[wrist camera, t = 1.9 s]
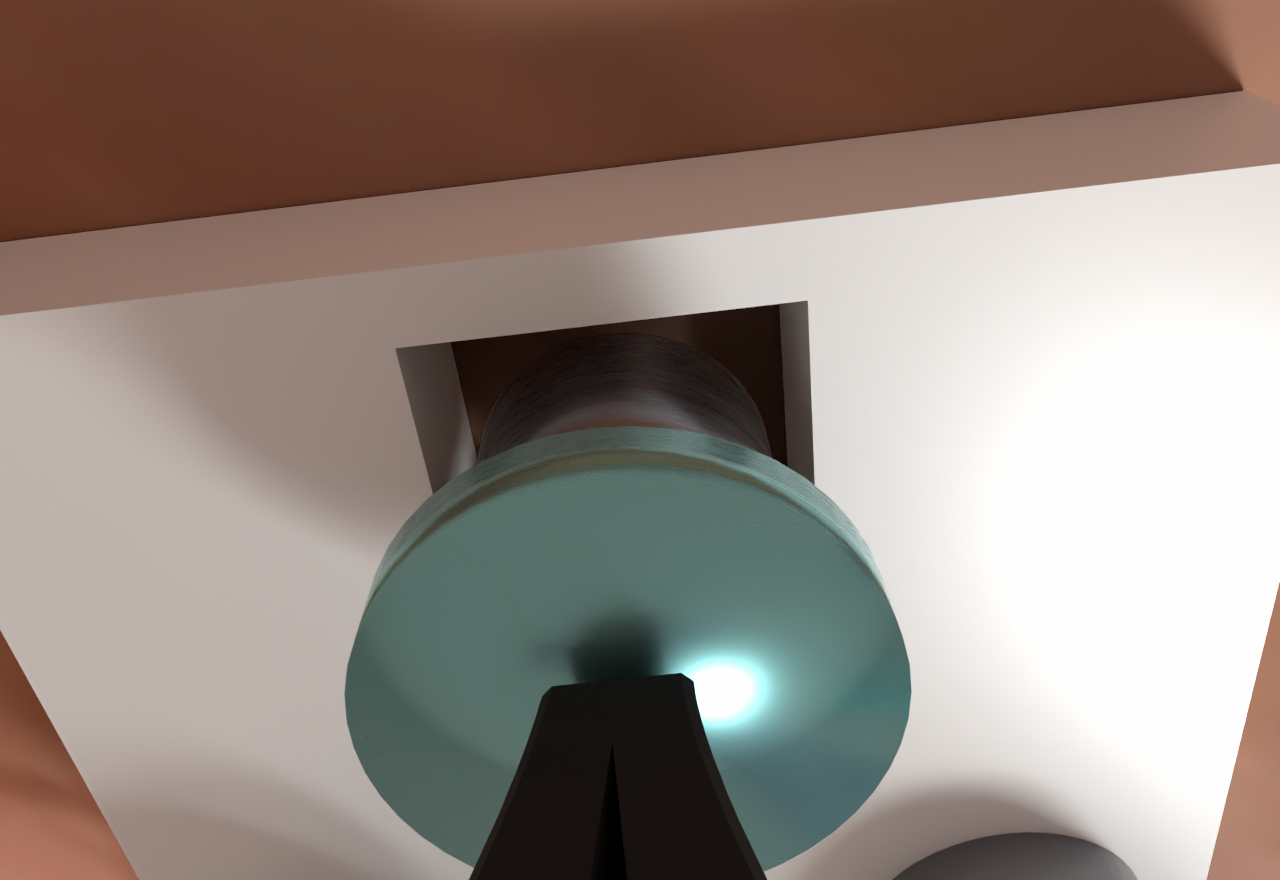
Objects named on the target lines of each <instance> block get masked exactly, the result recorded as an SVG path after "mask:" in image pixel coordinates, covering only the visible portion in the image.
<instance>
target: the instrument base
mask: <svg viewBox="0 0 1280 880" xmlns="http://www.w3.org/2000/svg"><path fill="white" fill-rule="evenodd" d="M774 304H779V311H780V330H781V349H782V368H783V387H784V406H785V425H786V444H787V463H788V468H790V469H792V470H793V471H795V472H797V473H798V474H800V475H802V476H803V477H805V478H806V479H807V480H809V481H810V482H811V483H812V484H814V485H815V486H816V487H817V488H819V489H820V490H821V491H822V492H823V493H825V494H826V495H827V496H828V497H830V498H831V499H832V500H833V501H834V502H835V504H836V505H837V506H838V507H839V508H840V509H841V510H842V511H843V512H844V513H845V514H846V516H847V517H848V518H849V519H850V520H851V521H852V522H853V524H854V525H855V527H856V528H857V530H858V531H859V533H860V534H861V536H862V537H863V539H864V540H865V542H866V543H867V545H868V547H869V549H870V551H871V553H872V555H873V558H874V560H875V562H876V564H877V566H878V569H879V571H880V574H881V576H882V579H883V582H884V585H885V588H886V591H887V593H888V596H889V599H890V602H891V605H892V608H893V610H894V613H895V616H896V619H897V622H898V625H899V627H900V630H901V633H902V636H903V640H904V644H905V647H906V651H907V655H908V659H909V663H910V676H911V690H912V692H911V701H910V710H909V719H908V722H907V726H906V729H905V732H904V736H903V739H902V743H901V745H900V748H899V750H898V752H897V754H896V756H895V758H894V760H893V762H892V764H891V767H890V769H889V770H888V772H887V773H886V775H885V776H884V778H883V779H882V781H881V782H880V784H879V785H878V787H877V788H876V790H875V791H874V792H873V794H872V795H871V796H870V797H869V798H868V799H867V800H866V801H865V803H864V804H863V805H862V806H861V807H860V808H859V809H858V810H857V812H856V813H855V814H854V815H852V816H851V817H850V818H849V819H848V820H847V821H846V822H844V823H843V824H842V825H841V826H840V827H839V828H838V829H836V830H835V831H834V832H833V833H832V834H830V835H829V836H827V837H826V838H824V839H823V840H821V841H820V842H819V843H817V844H816V845H814V846H813V847H811V848H810V849H808V850H807V851H805V852H803V853H801V854H799V855H798V856H796V857H794V858H792V859H790V860H788V861H787V862H785V863H783V864H781V865H779V866H776V867H774V868H772V869H769V870H767V871H764V874H765V876H766V878H767V880H1206V879H1207V875H1208V871H1209V867H1210V863H1211V858H1212V854H1213V850H1214V846H1215V842H1216V838H1217V834H1218V830H1219V826H1220V822H1221V818H1222V814H1223V810H1224V805H1225V801H1226V797H1227V793H1228V789H1229V785H1230V781H1231V777H1232V773H1233V769H1234V765H1235V761H1236V756H1237V752H1238V748H1239V744H1240V740H1241V736H1242V732H1243V728H1244V724H1245V720H1246V716H1247V712H1248V708H1249V703H1250V699H1251V695H1252V691H1253V687H1254V683H1255V679H1256V675H1257V671H1258V667H1259V663H1260V659H1261V655H1262V650H1263V646H1264V642H1265V638H1266V634H1267V630H1268V626H1269V622H1270V618H1271V614H1272V610H1273V606H1274V602H1275V597H1276V593H1277V589H1278V585H1279V581H1280V105H1279V104H1276V103H1274V102H1272V101H1269V100H1267V99H1265V98H1263V97H1260V96H1258V95H1256V94H1253V93H1251V92H1249V91H1239V92H1230V93H1222V94H1214V95H1206V96H1198V97H1189V98H1181V99H1173V100H1165V101H1157V102H1148V103H1140V104H1132V105H1124V106H1116V107H1107V108H1099V109H1091V110H1083V111H1074V112H1066V113H1058V114H1050V115H1042V116H1033V117H1025V118H1017V119H1009V120H1001V121H992V122H984V123H976V124H968V125H960V126H951V127H943V128H935V129H927V130H919V131H910V132H902V133H894V134H886V135H877V136H869V137H861V138H853V139H845V140H836V141H828V142H820V143H812V144H804V145H795V146H787V147H779V148H771V149H763V150H754V151H746V152H738V153H730V154H721V155H713V156H705V157H697V158H689V159H680V160H672V161H664V162H656V163H648V164H639V165H631V166H623V167H615V168H607V169H598V170H590V171H582V172H574V173H566V174H557V175H549V176H541V177H533V178H524V179H516V180H508V181H500V182H492V183H483V184H475V185H467V186H459V187H451V188H442V189H434V190H426V191H418V192H410V193H401V194H393V195H385V196H377V197H368V198H360V199H352V200H344V201H336V202H327V203H319V204H311V205H303V206H295V207H286V208H278V209H270V210H262V211H254V212H245V213H237V214H229V215H221V216H213V217H204V218H196V219H188V220H180V221H171V222H163V223H155V224H147V225H139V226H130V227H122V228H114V229H106V230H98V231H89V232H81V233H73V234H65V235H57V236H48V237H40V238H32V239H24V240H15V241H7V242H0V631H1V632H2V634H3V636H4V638H5V640H6V641H7V643H8V645H9V647H10V649H11V650H12V652H13V654H14V656H15V658H16V659H17V661H18V663H19V665H20V667H21V668H22V670H23V672H24V674H25V676H26V677H27V679H28V681H29V683H30V684H31V686H32V688H33V690H34V692H35V693H36V695H37V697H38V699H39V701H40V702H41V704H42V706H43V708H44V710H45V711H46V713H47V715H48V717H49V719H50V720H51V722H52V724H53V726H54V728H55V729H56V731H57V733H58V735H59V737H60V738H61V740H62V742H63V744H64V746H65V747H66V749H67V751H68V753H69V755H70V756H71V758H72V760H73V762H74V764H75V765H76V767H77V769H78V771H79V773H80V774H81V776H82V778H83V780H84V782H85V783H86V785H87V787H88V789H89V791H90V792H91V794H92V796H93V798H94V800H95V801H96V803H97V805H98V807H99V809H100V810H101V812H102V814H103V816H104V818H105V819H106V821H107V823H108V825H109V827H110V828H111V830H112V832H113V834H114V836H115V837H116V839H117V841H118V843H119V845H120V846H121V848H122V850H123V852H124V854H125V855H126V857H127V859H128V861H129V863H130V864H131V866H132V868H133V870H134V872H135V873H136V875H137V877H138V879H139V880H469V878H470V876H471V874H472V872H473V870H474V868H473V867H471V866H469V865H467V864H466V863H464V862H462V861H460V860H458V859H456V858H454V857H452V856H450V855H449V854H447V853H445V852H444V851H442V850H441V849H439V848H438V847H436V846H435V845H433V844H432V843H430V842H429V841H427V840H426V839H424V838H423V837H422V836H420V835H419V834H418V833H417V832H416V831H414V830H413V829H412V828H411V827H410V826H409V825H408V824H406V823H405V822H404V821H403V820H402V819H401V818H400V817H399V816H398V815H397V814H396V813H395V812H394V811H393V810H392V809H391V807H390V806H389V805H388V804H387V803H386V802H385V801H384V799H383V798H382V797H381V796H380V795H379V793H378V792H377V790H376V789H375V787H374V786H373V784H372V783H371V781H370V780H369V778H368V776H367V775H366V773H365V772H364V769H363V767H362V765H361V763H360V761H359V758H358V756H357V754H356V752H355V750H354V747H353V744H352V740H351V736H350V732H349V728H348V725H347V720H346V708H345V696H344V692H345V682H346V672H347V665H348V661H349V658H350V654H351V651H352V647H353V644H354V640H355V637H356V634H357V631H358V627H359V624H360V621H361V618H362V615H363V611H364V608H365V605H366V602H367V599H368V595H369V592H370V589H371V586H372V582H373V579H374V576H375V573H376V571H377V569H378V566H379V564H380V562H381V560H382V558H383V556H384V554H385V552H386V550H387V548H388V546H389V545H390V543H391V542H392V540H393V539H394V537H395V536H396V535H397V533H398V532H399V530H400V529H401V527H402V526H403V525H404V523H405V522H406V521H407V520H408V518H409V517H410V516H411V515H412V514H413V513H414V512H415V511H416V510H417V509H418V508H419V507H420V506H421V505H422V504H423V503H424V502H425V501H426V500H427V499H428V498H429V497H430V496H431V495H433V494H434V493H435V492H436V491H438V490H439V489H440V488H442V487H443V486H444V485H445V484H447V483H448V482H449V481H450V480H452V479H453V478H454V477H456V476H458V475H459V474H461V473H463V472H465V471H466V470H468V469H470V468H471V467H473V466H475V465H476V461H477V455H476V451H475V446H474V442H473V437H472V433H471V429H470V424H469V420H468V416H467V411H466V407H465V403H464V398H463V394H462V390H461V385H460V381H459V376H458V372H457V368H456V363H455V359H454V355H453V350H452V346H451V342H455V341H463V340H472V339H480V338H489V337H498V336H506V335H515V334H524V333H532V332H541V331H549V330H558V329H567V328H575V327H584V326H592V325H601V324H610V323H618V322H627V321H636V320H644V319H653V318H661V317H670V316H679V315H687V314H696V313H705V312H713V311H722V310H730V309H739V308H748V307H756V306H765V305H774Z"/></svg>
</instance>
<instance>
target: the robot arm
mask: <svg viewBox="0 0 1280 880" xmlns="http://www.w3.org/2000/svg"><path fill="white" fill-rule="evenodd" d="M469 880H767V878H766V876H765V874H764V872H763V870H762V867H761V865H760V863H759V861H758V859H757V857H756V855H755V853H754V851H753V848H752V846H751V844H750V842H749V840H748V838H747V836H746V834H745V831H744V829H743V827H742V825H741V823H740V821H739V819H738V817H737V814H736V812H735V810H734V807H733V805H732V803H731V800H730V798H729V796H728V793H727V791H726V788H725V786H724V783H723V780H722V778H721V775H720V773H719V770H718V767H717V765H716V762H715V760H714V757H713V754H712V751H711V748H710V745H709V742H708V739H707V736H706V733H705V730H704V726H703V723H702V720H701V716H700V711H699V707H698V703H697V698H696V693H695V685H694V681H693V680H691V679H690V678H688V677H687V676H685V675H684V674H682V673H675V674H665V675H655V676H646V677H636V678H626V679H616V680H607V681H597V682H587V683H578V684H568V685H558V686H552V687H551V688H550V689H549V690H548V691H547V692H546V693H545V694H544V695H543V696H542V697H541V701H540V704H539V708H538V711H537V714H536V718H535V721H534V724H533V727H532V730H531V733H530V735H529V738H528V741H527V744H526V747H525V750H524V752H523V755H522V758H521V760H520V763H519V766H518V768H517V771H516V773H515V776H514V778H513V781H512V783H511V786H510V788H509V790H508V793H507V795H506V798H505V800H504V803H503V805H502V807H501V810H500V812H499V815H498V817H497V819H496V821H495V823H494V826H493V828H492V830H491V832H490V834H489V837H488V839H487V841H486V843H485V845H484V848H483V850H482V852H481V854H480V856H479V859H478V861H477V863H476V865H475V867H474V870H473V872H472V874H471V876H470V878H469Z"/></svg>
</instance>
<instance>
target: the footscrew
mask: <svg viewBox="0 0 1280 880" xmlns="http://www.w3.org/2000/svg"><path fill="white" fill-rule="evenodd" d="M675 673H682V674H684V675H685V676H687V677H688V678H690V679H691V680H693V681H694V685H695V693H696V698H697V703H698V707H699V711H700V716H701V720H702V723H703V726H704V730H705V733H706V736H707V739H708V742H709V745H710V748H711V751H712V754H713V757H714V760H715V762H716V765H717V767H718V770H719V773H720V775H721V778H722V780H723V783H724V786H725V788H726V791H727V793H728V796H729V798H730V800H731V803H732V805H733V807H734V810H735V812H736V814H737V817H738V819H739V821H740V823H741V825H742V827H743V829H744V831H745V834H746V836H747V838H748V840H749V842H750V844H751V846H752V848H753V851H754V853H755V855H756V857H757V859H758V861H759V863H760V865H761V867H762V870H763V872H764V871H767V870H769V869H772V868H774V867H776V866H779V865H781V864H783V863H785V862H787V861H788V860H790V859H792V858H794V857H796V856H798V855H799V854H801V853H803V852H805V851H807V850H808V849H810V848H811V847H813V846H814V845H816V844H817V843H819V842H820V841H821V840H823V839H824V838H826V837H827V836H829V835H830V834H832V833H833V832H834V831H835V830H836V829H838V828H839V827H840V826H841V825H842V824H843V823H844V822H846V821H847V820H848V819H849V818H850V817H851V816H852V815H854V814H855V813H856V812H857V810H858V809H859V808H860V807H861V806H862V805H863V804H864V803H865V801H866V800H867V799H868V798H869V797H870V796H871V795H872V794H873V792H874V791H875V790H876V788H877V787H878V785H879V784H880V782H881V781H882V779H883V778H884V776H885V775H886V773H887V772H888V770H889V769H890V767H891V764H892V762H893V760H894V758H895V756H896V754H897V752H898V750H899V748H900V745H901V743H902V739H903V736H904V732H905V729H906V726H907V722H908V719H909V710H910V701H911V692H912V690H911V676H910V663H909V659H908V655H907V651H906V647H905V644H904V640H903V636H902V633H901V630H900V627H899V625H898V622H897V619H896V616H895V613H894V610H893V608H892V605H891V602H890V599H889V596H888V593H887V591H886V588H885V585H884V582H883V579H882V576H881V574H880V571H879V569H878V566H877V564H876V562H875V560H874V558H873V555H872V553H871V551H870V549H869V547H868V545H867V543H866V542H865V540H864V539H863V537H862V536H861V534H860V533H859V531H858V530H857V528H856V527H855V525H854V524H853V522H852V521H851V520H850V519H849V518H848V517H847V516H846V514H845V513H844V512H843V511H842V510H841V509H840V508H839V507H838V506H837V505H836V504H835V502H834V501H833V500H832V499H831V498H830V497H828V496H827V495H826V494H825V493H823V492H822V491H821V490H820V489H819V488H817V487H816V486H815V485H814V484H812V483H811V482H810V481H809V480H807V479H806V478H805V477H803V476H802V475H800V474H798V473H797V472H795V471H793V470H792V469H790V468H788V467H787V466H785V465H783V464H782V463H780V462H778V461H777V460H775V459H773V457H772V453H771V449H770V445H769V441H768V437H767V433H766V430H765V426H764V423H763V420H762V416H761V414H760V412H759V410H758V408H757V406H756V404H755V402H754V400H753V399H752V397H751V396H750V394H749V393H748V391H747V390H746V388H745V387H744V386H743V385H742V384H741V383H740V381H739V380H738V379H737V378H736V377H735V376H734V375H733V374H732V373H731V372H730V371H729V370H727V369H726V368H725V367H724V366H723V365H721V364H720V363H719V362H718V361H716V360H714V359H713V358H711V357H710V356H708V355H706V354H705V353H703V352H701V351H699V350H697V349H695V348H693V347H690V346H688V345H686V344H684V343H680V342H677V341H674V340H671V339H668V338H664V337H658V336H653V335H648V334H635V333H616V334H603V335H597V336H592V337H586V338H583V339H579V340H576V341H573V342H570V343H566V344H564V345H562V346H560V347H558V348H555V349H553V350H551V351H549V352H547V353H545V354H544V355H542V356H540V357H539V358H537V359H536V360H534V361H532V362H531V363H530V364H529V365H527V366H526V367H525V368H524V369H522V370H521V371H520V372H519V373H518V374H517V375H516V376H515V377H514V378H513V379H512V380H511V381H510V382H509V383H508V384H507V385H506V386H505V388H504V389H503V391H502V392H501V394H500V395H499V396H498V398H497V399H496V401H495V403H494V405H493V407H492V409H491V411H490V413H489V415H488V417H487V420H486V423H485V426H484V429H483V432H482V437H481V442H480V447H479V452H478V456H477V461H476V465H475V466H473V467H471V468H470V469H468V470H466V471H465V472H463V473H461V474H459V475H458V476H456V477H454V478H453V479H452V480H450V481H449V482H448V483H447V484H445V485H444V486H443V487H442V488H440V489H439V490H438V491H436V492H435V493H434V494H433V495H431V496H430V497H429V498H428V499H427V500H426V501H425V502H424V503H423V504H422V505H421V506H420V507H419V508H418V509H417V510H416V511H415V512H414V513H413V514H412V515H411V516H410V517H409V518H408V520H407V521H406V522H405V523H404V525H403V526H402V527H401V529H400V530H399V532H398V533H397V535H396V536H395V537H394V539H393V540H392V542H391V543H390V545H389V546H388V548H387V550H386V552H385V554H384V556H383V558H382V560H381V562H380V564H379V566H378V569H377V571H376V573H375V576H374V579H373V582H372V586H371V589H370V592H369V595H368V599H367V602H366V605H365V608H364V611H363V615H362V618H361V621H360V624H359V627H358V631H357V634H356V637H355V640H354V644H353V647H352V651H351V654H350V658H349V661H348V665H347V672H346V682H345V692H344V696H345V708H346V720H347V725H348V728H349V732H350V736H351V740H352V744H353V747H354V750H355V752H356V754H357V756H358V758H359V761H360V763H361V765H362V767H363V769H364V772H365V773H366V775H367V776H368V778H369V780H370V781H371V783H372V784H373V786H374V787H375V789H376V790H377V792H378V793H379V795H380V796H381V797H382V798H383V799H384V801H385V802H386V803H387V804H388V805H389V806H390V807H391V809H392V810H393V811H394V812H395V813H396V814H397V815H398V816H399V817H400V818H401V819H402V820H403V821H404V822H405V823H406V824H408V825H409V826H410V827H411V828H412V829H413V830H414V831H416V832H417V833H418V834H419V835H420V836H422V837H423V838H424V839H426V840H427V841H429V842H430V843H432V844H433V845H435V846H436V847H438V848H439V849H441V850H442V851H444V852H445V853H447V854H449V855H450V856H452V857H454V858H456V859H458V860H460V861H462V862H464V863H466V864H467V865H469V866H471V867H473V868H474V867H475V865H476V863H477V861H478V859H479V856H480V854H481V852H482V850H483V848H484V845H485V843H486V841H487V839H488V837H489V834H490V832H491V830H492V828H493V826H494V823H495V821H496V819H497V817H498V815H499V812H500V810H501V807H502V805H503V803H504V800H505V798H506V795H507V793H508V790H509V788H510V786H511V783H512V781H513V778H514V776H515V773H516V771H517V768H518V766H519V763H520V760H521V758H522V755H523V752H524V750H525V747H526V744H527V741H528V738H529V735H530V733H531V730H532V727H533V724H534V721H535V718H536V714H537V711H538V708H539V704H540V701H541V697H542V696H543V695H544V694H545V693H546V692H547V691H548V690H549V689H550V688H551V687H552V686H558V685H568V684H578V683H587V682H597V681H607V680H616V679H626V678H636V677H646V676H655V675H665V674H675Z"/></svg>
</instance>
